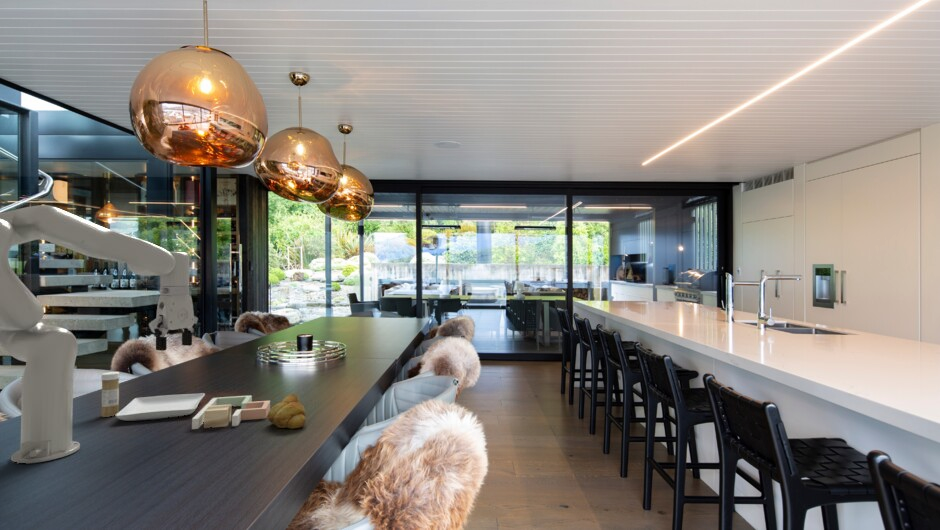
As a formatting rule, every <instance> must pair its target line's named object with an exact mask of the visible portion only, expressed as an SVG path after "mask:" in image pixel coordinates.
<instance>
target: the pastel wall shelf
mask: <svg viewBox="0 0 940 530" xmlns="http://www.w3.org/2000/svg"><path fill="white" fill-rule="evenodd" d="M229 404H231V408H232V406H233V407H240V409H236V410H235V411H234V413H233V414H232V415H231V427H237V426H239V425H240V423H241V421H247V420H249V421H250V420H262V419H267V418H268V416H269V411H270V409H271V400H260V401H259V400H258V401H257V400H256V401H253V396H252V395H237V396H236V395H235V396H223V397H221V396H220V397H212V398H211V399H210V400H209V401H208V402H207V403H206V404H205V405H204V406H203V407H202V408H201V409H200V410H199V411H198V412H197V414H196V415H195V416H193V417H192V419H191V430H198V429H199V428H200V427H201V426H202V425H204V423H203V422H204V411H205V410H206V409H207V408H208V407H209V406H214V405H229Z"/></svg>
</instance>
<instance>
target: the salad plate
mask: <svg viewBox="0 0 940 530" xmlns="http://www.w3.org/2000/svg"><path fill="white" fill-rule="evenodd" d="M205 396H206V393H204V392H200V393H185V394H184V393H183V394H166V395H155V396H145V397H144V396H143V397H142V396H141V397H135V398H134V399H132V400H131V401H130V402H129V403H128V404H127V405H126V406H124V407H123V408H122V409H121V410H120V411H119V412H118V413H117V414H116V415H115V416H114V417H116V418H117V420H121V421H127V422H129V421H130V422H131V421H132V422H135V421H145V420H146V421H147V420H157V419H166V418H167V419H168V417H169V418H177V417H178V416H179V417H184V415H185V416H188V415H191V414H193V413H194V412H195V411H196V410H197V408H198V405H199V404H200V402H201V401H202V400H203V398H204V397H205Z"/></svg>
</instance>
